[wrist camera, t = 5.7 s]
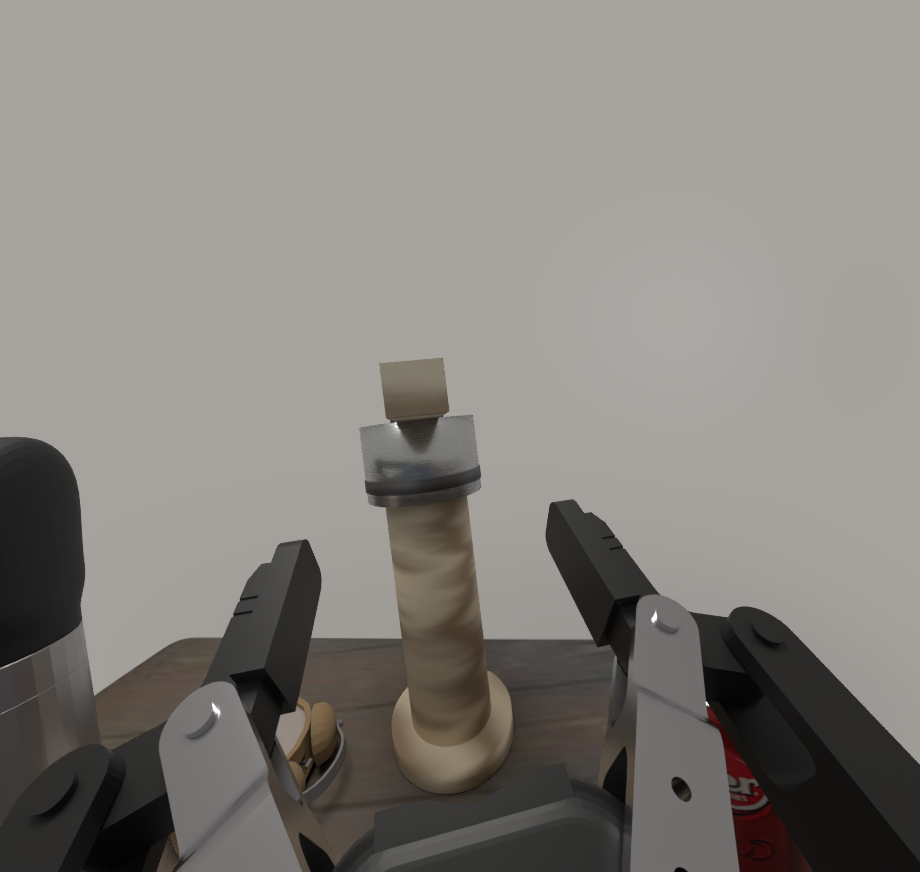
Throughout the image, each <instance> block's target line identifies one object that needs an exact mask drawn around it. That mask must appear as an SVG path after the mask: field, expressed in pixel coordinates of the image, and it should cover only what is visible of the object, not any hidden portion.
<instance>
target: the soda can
mask: <svg viewBox="0 0 920 872" xmlns="http://www.w3.org/2000/svg"><path fill="white" fill-rule="evenodd" d="M706 707H707V714H708V718H709V720H710V722H711V723H712V724H714V725H716V726H717V728H718V729H719V732H720V734H721V737H722V741H723V747H724V753H725V761H726V769H727V777H728V785H729V793H730V801H731V809H732V816H733V824H734V832H735V840H736V848H737V856H738V864H739V872H813V871H812V869H811V867H810V866H809V864H808V863H807V861H806V859H805V858H804V856H803V855H802V853H801V851H800V850H799V848H798V847H797V845H796V843H795V842H794V840H793V839H792V837H791V835H790V834H789V832H788V831H787V829H786V828H785V826H784V824H783V823H782V821H781V820H780V818H779V816H778V815H777V813H776V812H775V810H774V808H773V807H772V805H771V804H770V802H769V800H768V799H767V797H766V796H765V794H764V792H763V791H762V789H761V788H760V786H759V784H758V783H757V781H756V780H755V778H754V776H753V775H752V773H751V772H750V770H749V769H748V767H747V765H746V764H745V762H744V761H743V759H742V757H741V756H740V754H739V753H738V751H737V749H736V748H735V746H734V745H733V743H732V741H731V740H730V738H729V737H728V735H727V733H726V732H725V730H724V729H723V727H722V725H721V724H720V722H719V721H718V719H717V717H716V716H715V714H714V713H713V711H712V710H711V708H710V706H709V705H708V703H707V702H706Z"/></svg>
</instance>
